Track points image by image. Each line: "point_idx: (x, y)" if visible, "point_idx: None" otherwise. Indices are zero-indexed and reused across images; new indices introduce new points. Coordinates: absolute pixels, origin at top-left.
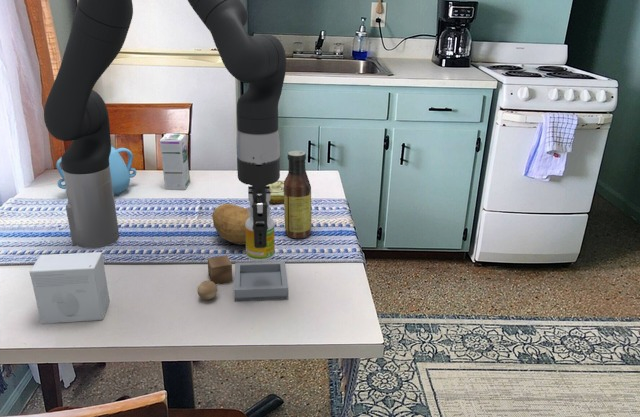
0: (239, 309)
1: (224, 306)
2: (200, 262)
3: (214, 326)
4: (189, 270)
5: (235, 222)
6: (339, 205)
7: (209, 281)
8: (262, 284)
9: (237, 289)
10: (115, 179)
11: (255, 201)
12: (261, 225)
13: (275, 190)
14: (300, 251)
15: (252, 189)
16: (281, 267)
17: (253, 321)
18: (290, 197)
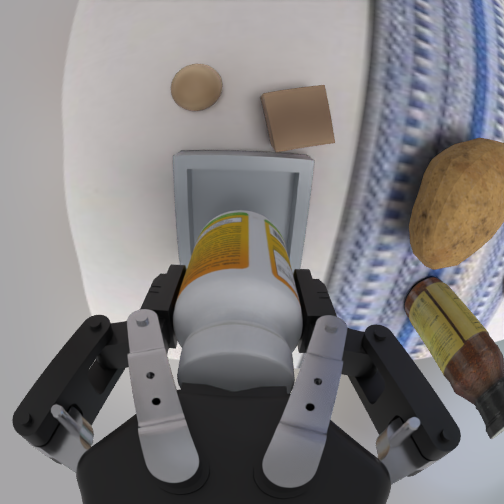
0: (151, 162)
1: (164, 129)
2: (372, 78)
3: (100, 119)
4: (338, 49)
5: (456, 193)
6: None
7: (194, 91)
8: None
9: (175, 163)
10: None
11: (92, 446)
12: (97, 360)
13: None
14: (365, 296)
15: (257, 482)
16: None
17: (114, 192)
18: (459, 346)
